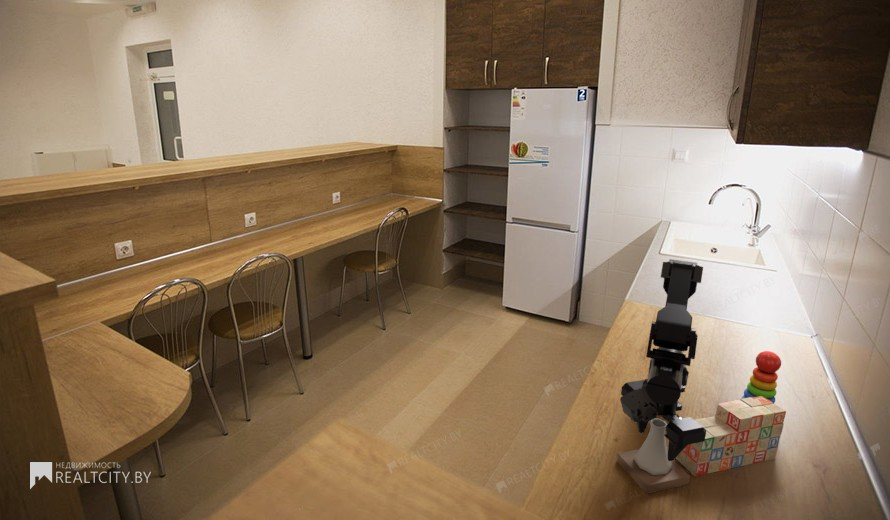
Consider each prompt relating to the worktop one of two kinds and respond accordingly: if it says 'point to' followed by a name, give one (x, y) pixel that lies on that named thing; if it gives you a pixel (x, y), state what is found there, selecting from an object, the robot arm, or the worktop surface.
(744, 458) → the stack of blocks
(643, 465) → the flask
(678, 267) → the robot arm
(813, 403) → the worktop surface
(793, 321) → the worktop surface
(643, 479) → the plinth
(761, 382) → the stacking toy
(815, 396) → the worktop surface
